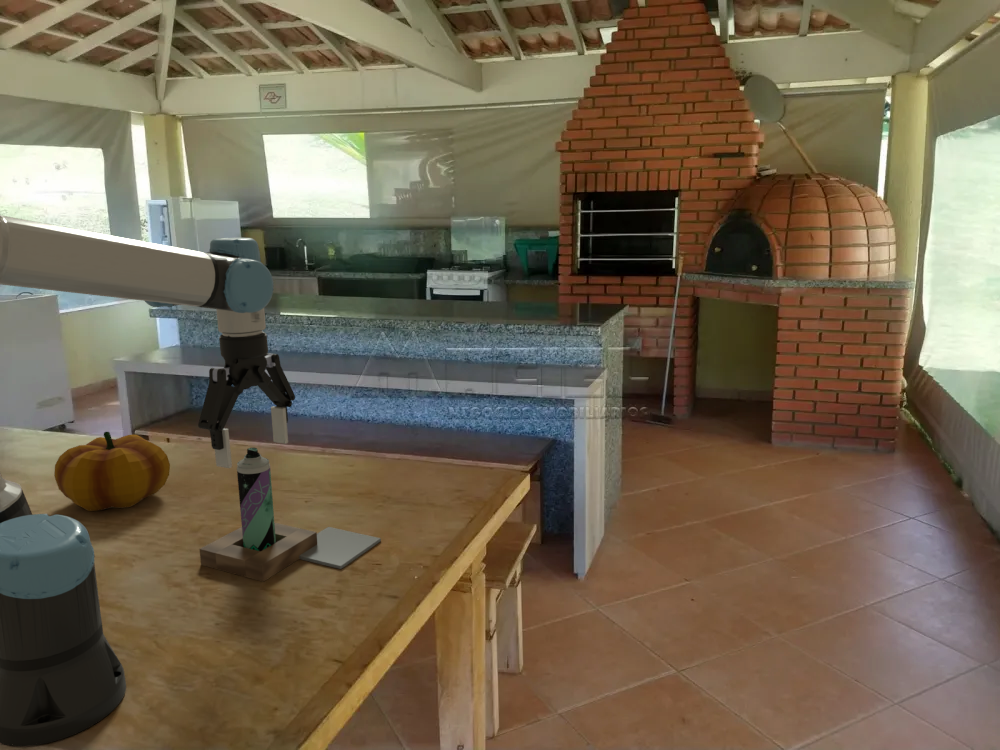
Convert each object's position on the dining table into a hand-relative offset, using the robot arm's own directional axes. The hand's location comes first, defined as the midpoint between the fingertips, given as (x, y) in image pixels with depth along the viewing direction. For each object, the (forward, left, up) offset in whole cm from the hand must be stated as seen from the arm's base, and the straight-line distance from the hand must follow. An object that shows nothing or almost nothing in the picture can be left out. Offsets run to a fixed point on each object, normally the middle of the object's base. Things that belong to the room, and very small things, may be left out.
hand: (253, 454), depth 129 cm
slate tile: (+8, -10, -19) cm, 23 cm away
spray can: (0, 0, -19) cm, 19 cm away
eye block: (0, 0, -19) cm, 19 cm away
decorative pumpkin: (+7, +46, -19) cm, 50 cm away
